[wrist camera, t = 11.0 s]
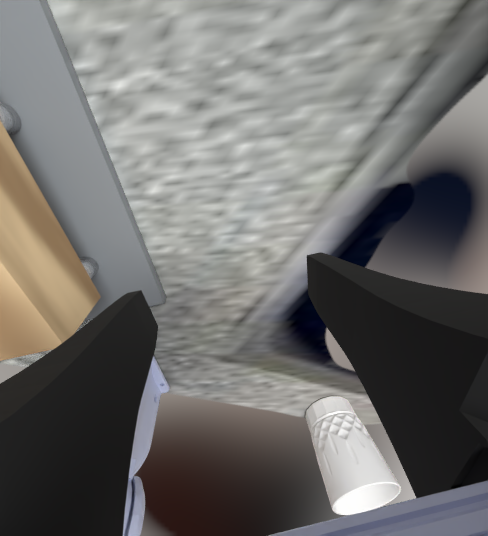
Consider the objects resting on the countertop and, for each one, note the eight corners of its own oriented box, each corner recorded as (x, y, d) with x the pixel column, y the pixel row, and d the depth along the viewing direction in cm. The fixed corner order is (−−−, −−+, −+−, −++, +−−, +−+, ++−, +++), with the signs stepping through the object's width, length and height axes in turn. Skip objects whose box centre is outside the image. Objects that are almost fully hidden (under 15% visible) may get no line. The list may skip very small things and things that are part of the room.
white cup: (352, 386, 33) (405, 475, 24) (352, 417, 36) (397, 503, 28) (298, 401, 33) (330, 495, 24) (303, 430, 36) (333, 521, 28)
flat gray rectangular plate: (166, 296, 22) (160, 317, 19) (48, 321, 22) (26, 346, 19) (44, -6, 12) (-1, -47, 10) (-172, 29, 12) (-279, -4, 9)
